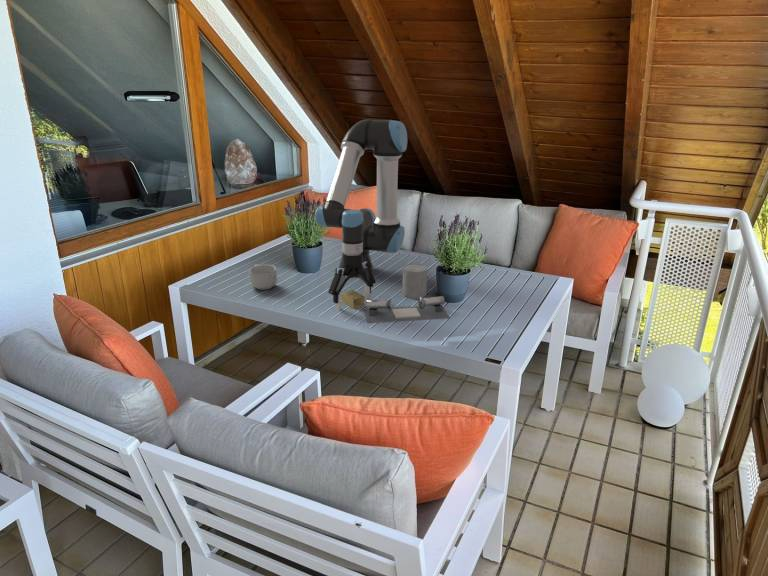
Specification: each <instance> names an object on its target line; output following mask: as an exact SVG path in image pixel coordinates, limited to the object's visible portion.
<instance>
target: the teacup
mask: <svg viewBox="0 0 768 576" xmlns="http://www.w3.org/2000/svg"><path fill="white" fill-rule="evenodd" d="M248 273H249V277H250V283H251V285H252V287H254V288H255V289H257V290H262V291H263V290H265V291H266V290H269V289H272V288H273V287H274V286H275V285H276V284H277V282H278V280H277V279H278V276H277V267H276V266H275V265H273V264H254V265H253V266H252V267H251V268H249V270H248Z"/></svg>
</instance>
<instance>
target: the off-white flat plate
mask: <svg viewBox="0 0 768 576" xmlns="http://www.w3.org/2000/svg"><path fill="white" fill-rule="evenodd" d="M392 311H393V313H394V315H395V318H411V317H420V314H419V312H418V310H417V308H401V309H392Z"/></svg>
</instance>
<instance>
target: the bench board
mask: <svg viewBox="0 0 768 576" xmlns="http://www.w3.org/2000/svg"><path fill="white" fill-rule="evenodd" d="M401 308H417V310H418V312H419V314H420V317H411V318H395V315H394V313H393V311H392V309H401ZM363 313H364V317H365V319H366V323H367V324H377V323H391V322H392V323H394V322H397V323H398V322H412V321H427V320H428V321H429V320H439V319H440V320H445V319H451V316H450V315H449V313H448V312H447V310H446V309H445V307H443V310H442V312H434V311H433V310H432V309H431V308H430V306H426V307H424V308H423V309H420V308H419V305H418V306H402V307H401V306H400V307H391V311H389V309H377V316H369V308H364V309H363Z"/></svg>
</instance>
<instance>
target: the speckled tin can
mask: <svg viewBox="0 0 768 576" xmlns="http://www.w3.org/2000/svg"><path fill="white" fill-rule="evenodd" d="M427 283H428V266H426V265H424V264H421V263H408V264H407V263H406V264H404V265H403V266H402V288H401V289H402V290H401V291H402V292H401V293H402V296H403V297H404V298H407V299H413V300H415V299H416V300H418V298H419V297H422V298H423V299H424V298H426V297H427V286H428V285H427Z"/></svg>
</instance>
